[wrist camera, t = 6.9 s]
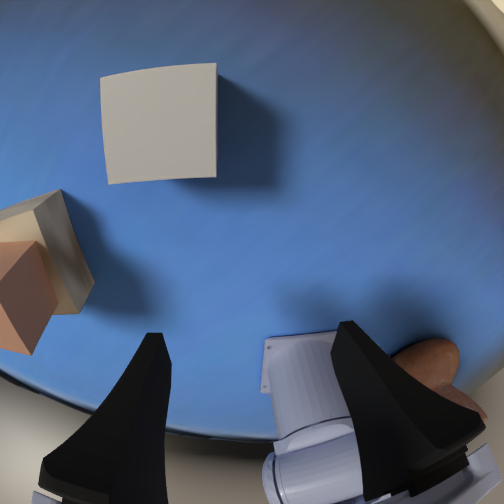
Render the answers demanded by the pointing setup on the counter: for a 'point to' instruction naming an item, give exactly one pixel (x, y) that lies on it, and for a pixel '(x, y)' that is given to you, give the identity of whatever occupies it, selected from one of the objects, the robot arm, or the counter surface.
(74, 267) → the birch plinth
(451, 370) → the ceramic jug
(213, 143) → the grey block
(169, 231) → the counter surface
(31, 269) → the terracotta cube
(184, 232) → the counter surface
